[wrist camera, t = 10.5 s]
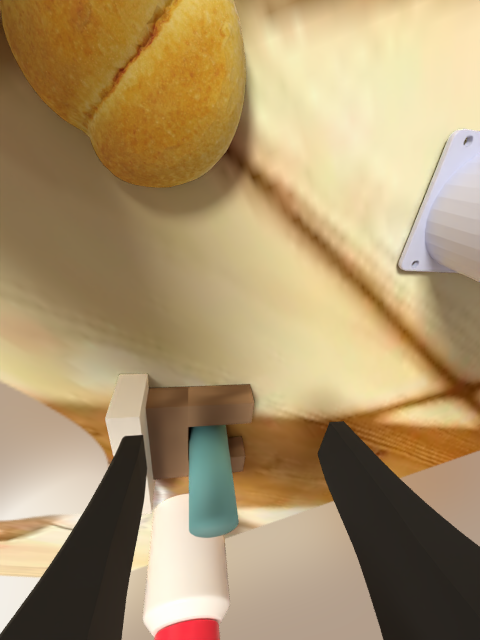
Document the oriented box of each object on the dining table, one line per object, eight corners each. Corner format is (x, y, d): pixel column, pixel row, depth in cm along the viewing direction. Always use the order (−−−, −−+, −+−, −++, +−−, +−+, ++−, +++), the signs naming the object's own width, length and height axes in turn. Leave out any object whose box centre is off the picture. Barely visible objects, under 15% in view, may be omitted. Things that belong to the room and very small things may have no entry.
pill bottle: (186, 533, 35) (184, 673, 25) (138, 515, 31) (115, 672, 22) (234, 506, 33) (252, 645, 24) (190, 484, 29) (190, 639, 20)
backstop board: (147, 373, 21) (139, 416, 17) (156, 467, 27) (151, 513, 23) (119, 374, 20) (105, 418, 17) (134, 469, 27) (126, 516, 23)
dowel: (226, 409, 24) (240, 510, 17) (224, 433, 26) (236, 533, 19) (188, 412, 24) (188, 516, 17) (189, 436, 25) (189, 540, 18)
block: (249, 384, 23) (254, 403, 21) (239, 451, 28) (242, 471, 26) (148, 388, 22) (145, 408, 20) (155, 458, 26) (153, 479, 24)
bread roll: (158, 214, 16) (148, 233, 12) (-11, 32, 11) (-98, -19, 8) (278, 103, 14) (306, 88, 10) (135, -168, 9) (103, -347, 6)
